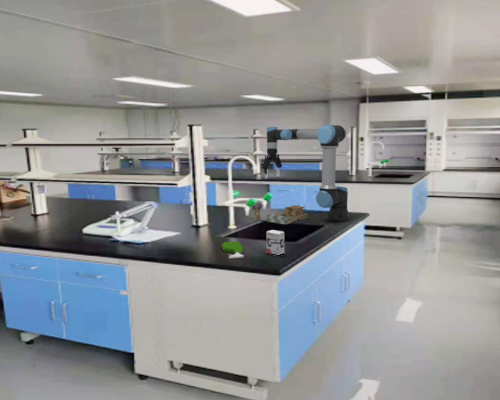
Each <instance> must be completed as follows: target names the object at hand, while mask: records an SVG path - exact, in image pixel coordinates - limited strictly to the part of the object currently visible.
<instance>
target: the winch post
mask: <svg viewBox="0 0 500 400" xmlns="http://www.w3.org/2000/svg"><path fill="white" fill-rule="evenodd" d="M251 208H252V211H253V221H256V222H259V221H260V220H261V218H260V217H261V209H262V203H261V202H256V204H255V205H253V206H252V205H251Z"/></svg>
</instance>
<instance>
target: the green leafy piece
mask: <svg viewBox="0 0 500 400" xmlns="http://www.w3.org/2000/svg"><path fill="white" fill-rule="evenodd" d="M221 249H222V251H223V252H224V253H228V258H229V259H232V260H233V259H242V258H244V256H245V255H244V254H242V253H243V252H244V248H243V245H242V244H241V243H240V242H239V241H226V242H225V241H224V242H223V243H222V244H221ZM230 253H231V254H230Z"/></svg>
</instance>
